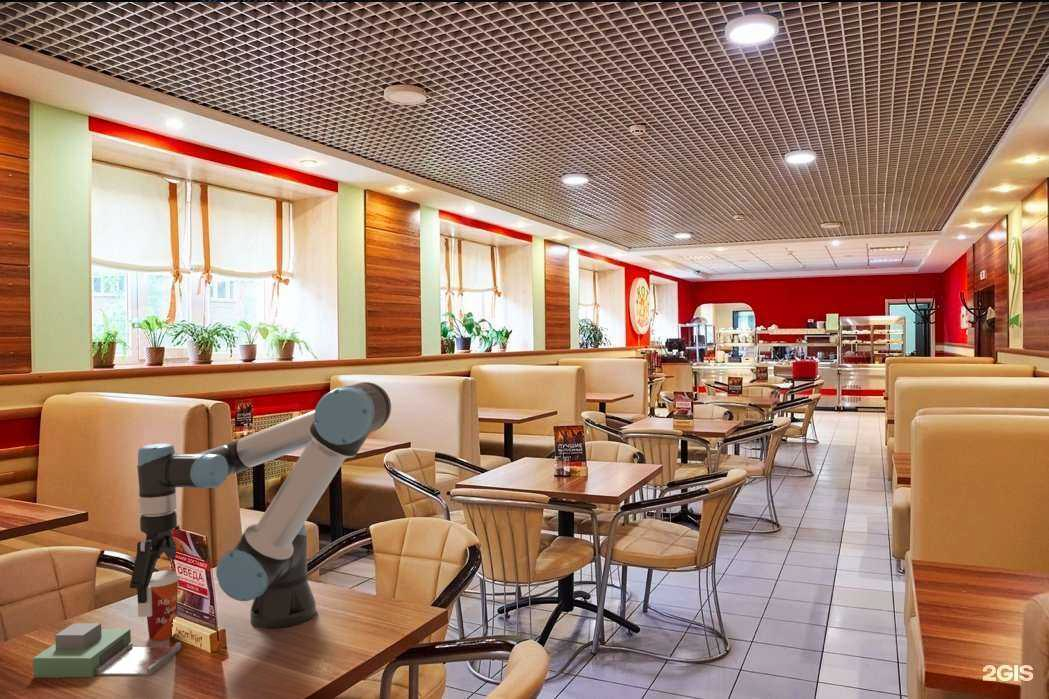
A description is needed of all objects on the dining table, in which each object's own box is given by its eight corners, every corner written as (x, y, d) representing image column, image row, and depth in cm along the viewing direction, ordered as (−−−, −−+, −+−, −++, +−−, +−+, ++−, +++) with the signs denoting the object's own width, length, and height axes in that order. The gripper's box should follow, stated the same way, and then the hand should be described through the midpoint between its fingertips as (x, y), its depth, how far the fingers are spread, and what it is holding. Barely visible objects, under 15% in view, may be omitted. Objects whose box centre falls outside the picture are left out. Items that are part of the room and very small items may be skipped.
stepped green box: (132, 646, 163) (130, 615, 163) (92, 677, 149) (91, 643, 149) (78, 646, 164) (77, 615, 163) (33, 677, 150) (32, 643, 149)
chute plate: (180, 648, 162) (180, 642, 162) (150, 675, 150) (150, 668, 150) (129, 648, 162) (129, 642, 162) (95, 675, 150) (95, 668, 150)
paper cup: (166, 643, 164) (163, 582, 164) (136, 641, 166) (133, 580, 165) (188, 629, 172) (186, 570, 171) (160, 627, 174) (157, 568, 173)
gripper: (170, 499, 180) (173, 584, 181) (109, 528, 156) (113, 626, 156) (200, 498, 180) (203, 584, 181) (143, 527, 155) (147, 626, 156)
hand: (161, 604), depth 169 cm, fingers open, 13 cm apart
